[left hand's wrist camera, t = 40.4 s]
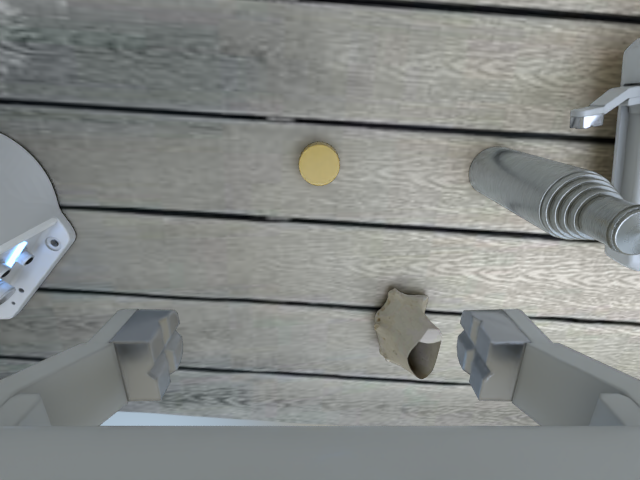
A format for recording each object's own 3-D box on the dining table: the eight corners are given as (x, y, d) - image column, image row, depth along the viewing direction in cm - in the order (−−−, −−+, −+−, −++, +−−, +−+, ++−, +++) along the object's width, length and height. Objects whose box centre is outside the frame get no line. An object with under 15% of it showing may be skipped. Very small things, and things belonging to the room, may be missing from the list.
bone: (384, 277, 45) (365, 306, 36) (448, 293, 42) (445, 328, 33) (372, 342, 47) (351, 385, 38) (432, 361, 44) (425, 411, 35)
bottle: (494, 136, 37) (652, 170, 19) (527, 166, 38) (706, 225, 20) (458, 175, 38) (575, 241, 21) (491, 203, 39) (629, 288, 22)
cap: (307, 186, 39) (306, 191, 36) (294, 148, 37) (292, 152, 35) (343, 174, 38) (345, 178, 36) (331, 135, 37) (332, 138, 34)
